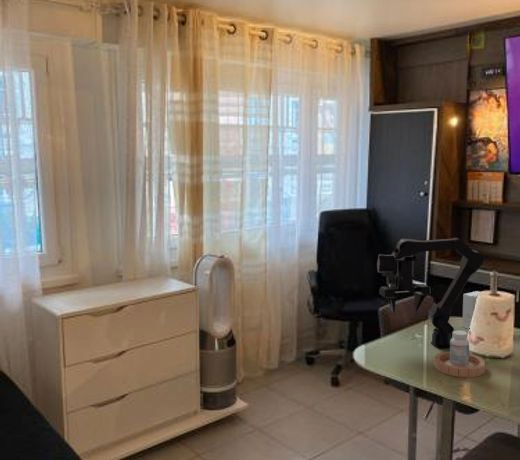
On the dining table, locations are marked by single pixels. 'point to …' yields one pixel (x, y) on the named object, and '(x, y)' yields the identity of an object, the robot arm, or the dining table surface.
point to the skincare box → (468, 307)
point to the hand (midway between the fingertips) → (404, 312)
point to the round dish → (472, 370)
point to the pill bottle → (459, 349)
